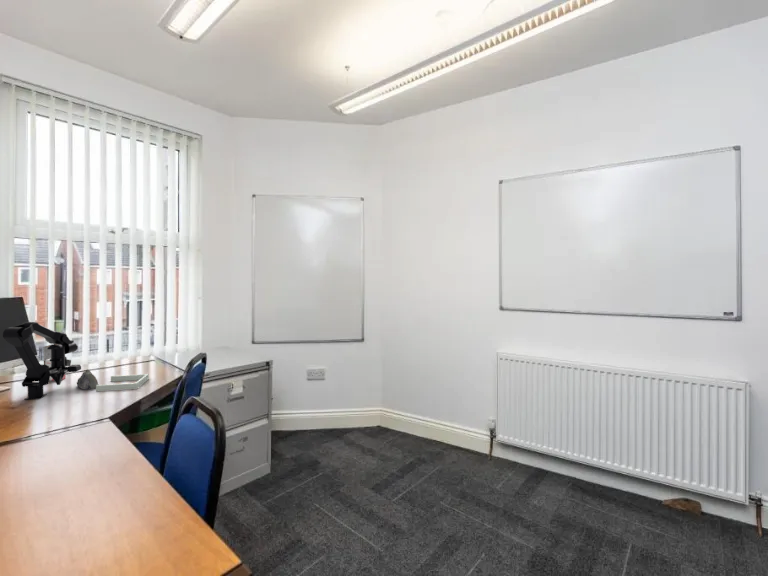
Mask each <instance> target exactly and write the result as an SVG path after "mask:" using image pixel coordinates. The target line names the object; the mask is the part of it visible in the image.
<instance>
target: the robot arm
mask: <svg viewBox="0 0 768 576" xmlns="http://www.w3.org/2000/svg"><path fill="white" fill-rule="evenodd" d="M32 334H36V335H38V336H40V337H42V338H44V340H45V341H46V342H47V343H49V345H50V346H49V347H48V348H47V349H51V359H50V361H51V367H49V366H47V365H44V364H41V363H40V362H39V359H38V358H37V356H36V354H35V352H34V350H33V349H32V346H31V345H30V343H29V340H30V335H32ZM2 338H3V339H4V340H5V341H6V343H8V344H10V345H12V346H13V347H14V348H15V349H16V351H17V353H18V355H19V357H20V358H21V360H22V363H24V365H25V368H26V372H25V377H24V379H23V380H22V381H21V386H22V388H23V387H27V397H24V400H25V401H27V400H39V399H42V398H44V397H46V396H48V393H44V386H46V385H48V384H49V381H50V380H49V378H50V376H51V377H52V378H53V379H54V382H55V384H56V385H57V386H60V385H61V383H62V381H63V380H64V379H63V376H64V375H65V373H66V374H67V373H76V372H79V371H80V370H82V366H81V364H72V360H71V359H68V357H67V356H66V355H68V354H71V353H75V352H76V351H77V350H78V344H77V343H76V342H74V340H70V338H69V337H68V335H67V334H66V333H65V332H62V331H54V330H51V329H50V328H48V327H45V326H43V325H42V324H39V322H36V321H26V322H23V323H22V324H18V325H14V326H11V327H6V328H5V329H4V330H3V332H2ZM51 344H60V345H51ZM65 366H66V367H65ZM62 379H63V380H62Z"/></svg>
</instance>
